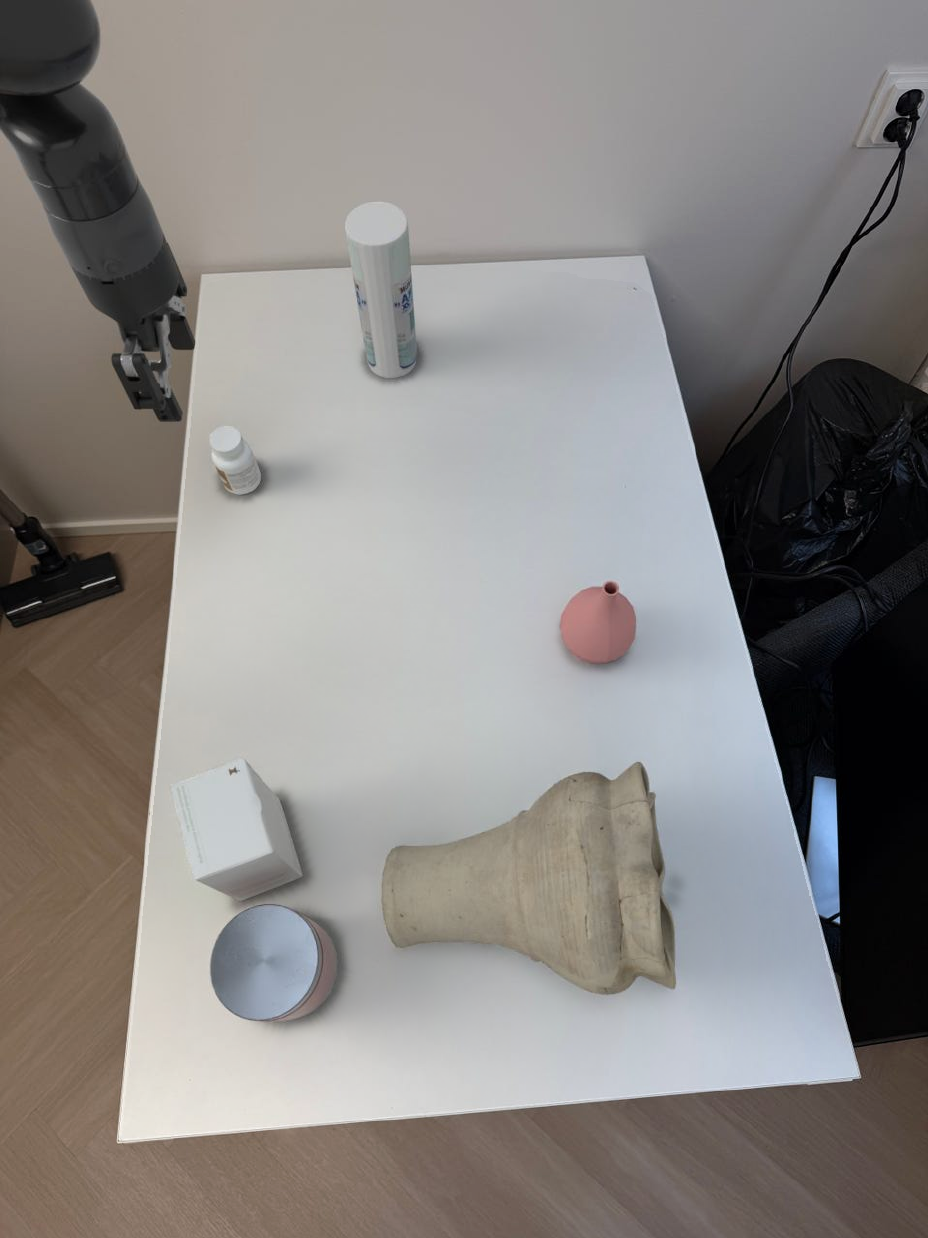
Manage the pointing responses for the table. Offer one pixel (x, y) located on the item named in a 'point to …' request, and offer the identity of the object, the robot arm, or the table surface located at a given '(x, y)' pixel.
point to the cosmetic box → (235, 831)
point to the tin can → (273, 964)
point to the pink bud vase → (598, 624)
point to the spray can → (383, 286)
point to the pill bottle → (234, 460)
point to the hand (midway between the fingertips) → (178, 382)
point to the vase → (549, 886)
